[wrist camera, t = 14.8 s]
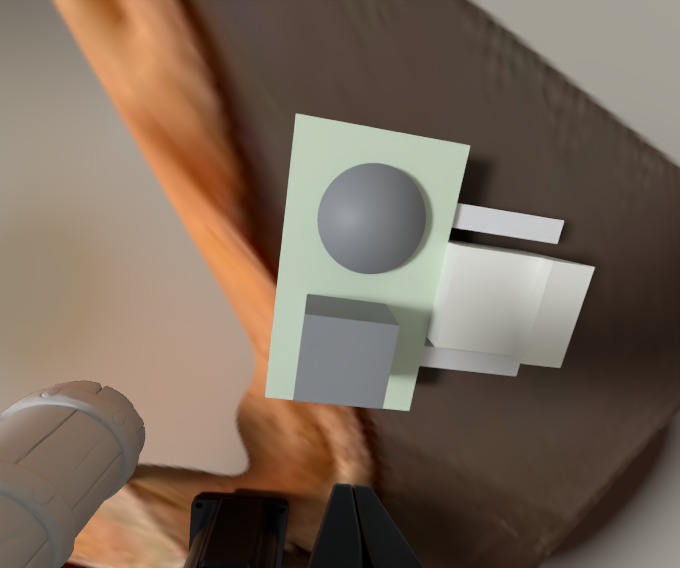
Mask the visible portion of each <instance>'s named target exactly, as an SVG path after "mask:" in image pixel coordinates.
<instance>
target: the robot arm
mask: <svg viewBox="0 0 680 568" xmlns="http://www.w3.org/2000/svg"><path fill="white" fill-rule="evenodd" d="M199 502H200V503H199ZM288 514H289V502H288V501H287V500H284V499H269V498H253V497H237V496H221V495H205V494H199V495H197V496H195V497H194V500H193V502H192V505H191V523H190V541H189V554H188V557H187V559H186V562H185V565H184V567H183V568H281V563H282V556H283V549H284V542H285V535H286V528H287V521H288ZM307 568H424V566H423V565H422V563H421V562H420V560H419V559H418V557H417V556H416V554H415V553H414V551H413V550H412V548H411V547H410V545H409V544H408V542H407V541H406V539H405V538H404V536H403V535H402V533H401V532H400V530H399V529H398V527H397V526H396V524H395V523H394V521H393V520H392V518H391V516H390V515H389V513H388V512H387V510H386V509H385V507H384V506H383V504H382V503H381V501H380V500H379V498H378V497H377V495H376V494H375V492H374V491H373V489H372V488H371V487H370V486H368V485H353V486H351V485H350V484H339V483H336V484H334V486H333V488H332V491H331V494H330V497H329V501H328V504H327V507H326V510H325V513H324V516H323V519H322V522H321V525H320V529H319V532H318V535H317V538H316V541H315V544H314V547H313V550H312V553H311V556H310V560H309V563H308V566H307Z"/></svg>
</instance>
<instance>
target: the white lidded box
mask: <svg viewBox="0 0 680 568" xmlns="http://www.w3.org/2000/svg"><path fill="white" fill-rule="evenodd" d="M594 269H595V267H592V266H588V265H584V264H579V263H575V262H571V261H566V260H562V259H557V258H553V257H549V256H544V255H540V254H536V253H531V252H527V251H522V250H516V249H509V248H502V247H496V246H489V245H482V244H476V243H469V242H463V241H456V240H448V244H447V249H446V253H445V257H444V262H443V266H442V270H441V275H440V279H439V283H438V288H437V292H436V296H435V301H434V305H433V309H432V314H431V318H430V322H429V327H428V331H427V335H426V336H427V338H428V339H429V340H430V341H431V343H432V344H433V345H434V346H435V347H438V348H447V349H456V350H464V351H473V352H481V353H490V354H499V355H507V356H512V357H514V358H515V359H516V360H518V361H519V362H520V363H521V364H528V365H537V366H546V367H555V368H560V367H561V365H562V362H563V359H564V356H565V353H566V350H567V347H568V344H569V341H570V338H571V335H572V333H573V330H574V327H575V324H576V321H577V318H578V315H579V312H580V309H581V306H582V303H583V301H584V298H585V295H586V292H587V289H588V286H589V283H590V280H591V277H592V274H593V271H594Z"/></svg>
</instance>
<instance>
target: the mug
mask: <svg viewBox="0 0 680 568" xmlns="http://www.w3.org/2000/svg"><path fill="white" fill-rule="evenodd" d="M143 425H144V423H143V420H142V419H141V418H140V416H139V415H138V413H137V412H136V410H135V409H134V407H133V405H132V403H131V402H130V401H129V400H128V399H127V398H126V397H125V396H124V395H122V394H121V393H119V392H118V391H116V390H114V389H113V388H110V387H108V386H105V387H104V388H103V389H102V387H101V385H100V384H99V383H95V382H90V381H74V382H67V383H62V384H57V385H54V386H51V387H49V388H48V389H44V390H40V391H37V392H34V393H32V394H30V395H27V396H25V397H24V398H22V399H20V400H19V401H17V402H16V403H14V404H13V405H12V406H10V407H9V408H7V409H6V410H5V411H4V412H3V413H2V414H1V415H0V568H60V567H61V566H63V565H64V564H65V563H66V561H67V560H68V559H69V557H70V556H71V554H72V552H73V550H74V541H75V538H76V537H77V535H78V534H79V533H80V531H81V530H82V529H83V528H84V526H85V525H86V524H87V522H88V521H89V520H90V518H91V517H92V516H93V515H94V513H95V512H96V511H97V509H98V508H99V507H100V506H101V504H102V503H103V502H104V501H105V500H107V499H108V498H110V497H112V496H113V495H114V494H116V493H117V492H118V491H119V490H120V489H121V488H122V487H123V486H124V485H125V483H126V482H127V480H129V478H130V477H131V476H132V475H133V473H134V471H135V468H136V465H137V463H138V459H139V454H140V452H141V450H142V448H143V445H144V441H145V427H143Z"/></svg>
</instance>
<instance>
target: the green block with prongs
mask: <svg viewBox="0 0 680 568" xmlns="http://www.w3.org/2000/svg"><path fill="white" fill-rule="evenodd" d="M469 149H470V145H464V144H459V143H453V142H448V141H442V140H437V139H432V138H426V137H421V136H415V135H410V134H405V133H399V132H394V131H388V130H383V129H377V128H372V127H367V126H361V125H356V124H350V123H345V122H340V121H334V120H329V119H323V118H318V117H312V116H307V115H302V114H296V118H295V128H294V137H293V146H292V155H291V164H290V173H289V182H288V191H287V200H286V209H285V218H284V227H283V236H282V245H281V255H280V264H279V273H278V282H277V291H276V300H275V309H274V318H273V327H272V336H271V345H270V354H269V363H268V373H267V382H266V391H265V397H267V398H278V399H288V400H293V401H303V402H314V403H325V404H335V405H346V406H356V407H367V408H378V409H383V408H384V409H394V410H405V411H409V409H410V405H411V400H412V396H413V392H414V387H415V383H416V379H417V374H418V370H419V366H425V367H435V368H444V369H453V370H462V371H471V372H480V373H489V374H498V375H508V376H516V375H517V372H518V369H519V365H520V362H519V361H518V360H516V359H515V358H514V357H512V356H507V355H499V354H490V353H481V352H473V351H464V350H456V349H447V348H438V347H435V346H434V345H433V344H432V343H431V341H430V340H429V339H428V338H427V336H426V335H427V331H428V327H429V322H430V318H431V314H432V309H433V305H434V301H435V296H436V292H437V288H438V283H439V279H440V275H441V270H442V266H443V262H444V257H445V253H446V249H447V244H448V240H449V236H450V232H451V227H452V228H458V229H465V230H471V231H477V232H484V233H490V234H497V235H503V236H509V237H516V238H522V239H529V240H535V241H541V242H548V243H554V244H557V243H558V240H559V237H560V234H561V230H562V227H563V224H564V221H563V220H557V219H551V218H545V217H539V216H533V215H527V214H520V213H514V212H508V211H502V210H496V209H490V208H484V207H478V206H472V205H466V204H460V203H457V201H458V197H459V193H460V188H461V184H462V180H463V175H464V171H465V167H466V162H467V158H468V154H469Z"/></svg>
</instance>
